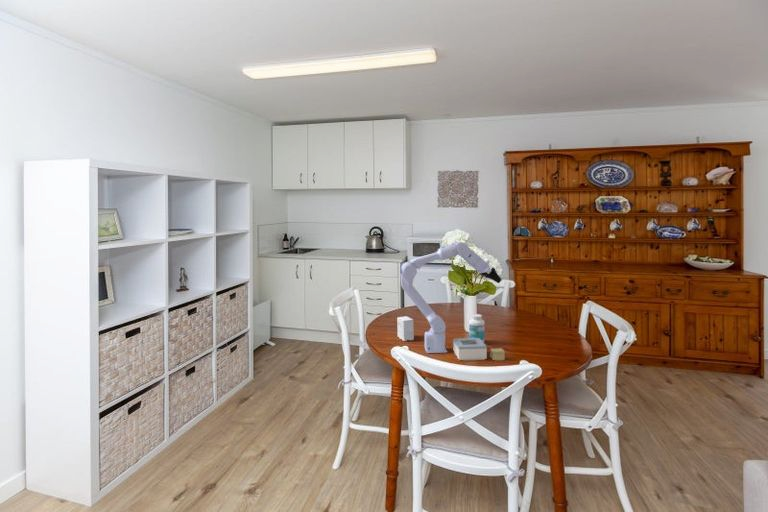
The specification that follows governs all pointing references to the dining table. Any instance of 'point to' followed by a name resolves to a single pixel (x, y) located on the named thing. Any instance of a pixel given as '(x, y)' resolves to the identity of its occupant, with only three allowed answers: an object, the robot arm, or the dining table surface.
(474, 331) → the pill bottle
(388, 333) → the dining table surface
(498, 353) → the tan green block
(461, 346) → the money box
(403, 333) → the small box
